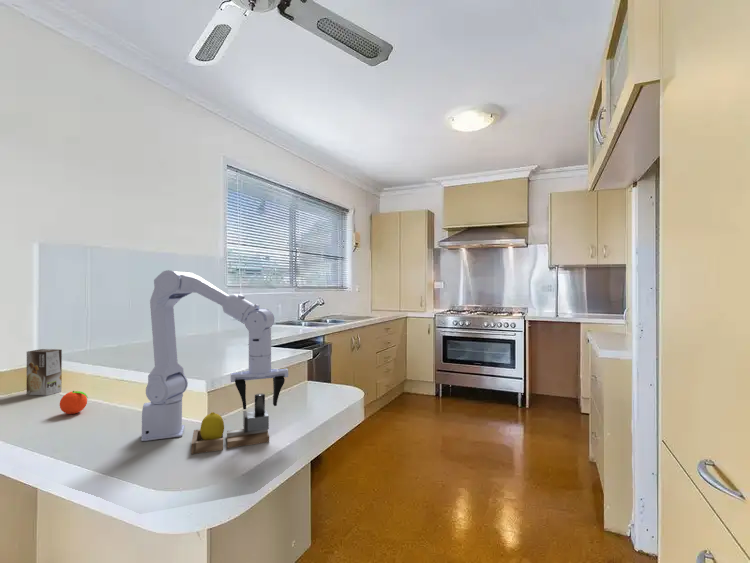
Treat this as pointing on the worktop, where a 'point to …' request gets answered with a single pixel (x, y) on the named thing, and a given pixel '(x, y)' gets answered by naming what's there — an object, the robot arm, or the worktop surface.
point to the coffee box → (44, 371)
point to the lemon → (212, 427)
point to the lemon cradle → (205, 444)
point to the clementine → (73, 402)
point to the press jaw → (256, 416)
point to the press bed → (246, 437)
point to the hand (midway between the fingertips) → (259, 406)
